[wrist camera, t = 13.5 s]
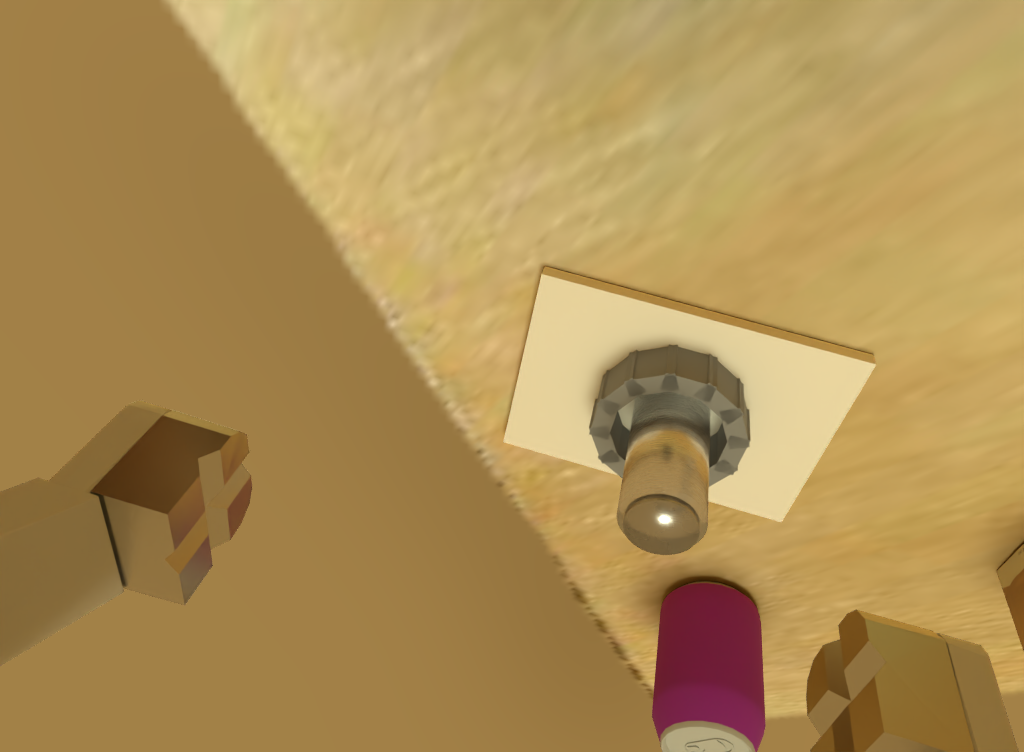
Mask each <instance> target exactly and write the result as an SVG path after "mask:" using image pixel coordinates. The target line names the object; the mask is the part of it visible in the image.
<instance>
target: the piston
mask: <svg viewBox="0 0 1024 752" xmlns="http://www.w3.org/2000/svg"><path fill="white" fill-rule="evenodd" d="M710 418H711V409H710V408H709V407H708V406H706V405H705V404H704V403H703V402H702V401H701V400H699V399H695V398H692V397H688V396H684V395H681V394H677V393H674V392H670V391H669V392H662V393H655V394H648V395H641V396H638V397H637V398H635V402H634V409H633V415H632V421H631V428H630V434H629V440H628V447H627V453H626V459H625V466H624V472H623V479H622V485H621V491H620V498H619V504H618V510H617V521H618V525H619V527H620V529H621V530H622V532H623V533H624V534H625V535H626V536H627V538H628V539H629V540H630V541H631V542H632V543H633V544H634V545H636V546H637V547H639V548H640V549H642V550H644V551H647V552H650V553H654V554H660V555H672V554H678V553H681V552H684V551H686V550H688V549H690V548H691V547H692V546H693V545H695V544H696V543H698V542H699V541H700V540H701V539H702V538H703V536H704V535H705V533H706V531H707V526H708V492H709V455H710Z"/></svg>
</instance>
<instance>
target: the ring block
mask: <svg viewBox="0 0 1024 752" xmlns="http://www.w3.org/2000/svg"><path fill="white" fill-rule="evenodd" d="M875 366H876V361H875V358H874V355H873V354H869V353H865V352H861V351H858V350H854V349H850V348H847V347H843V346H839V345H835V344H832V343H828V342H824V341H821V340H817V339H813V338H810V337H806V336H802V335H798V334H795V333H791V332H787V331H784V330H780V329H776V328H772V327H769V326H765V325H761V324H758V323H754V322H750V321H746V320H743V319H739V318H735V317H732V316H728V315H724V314H721V313H717V312H713V311H709V310H706V309H702V308H698V307H695V306H691V305H687V304H683V303H680V302H676V301H672V300H669V299H665V298H661V297H658V296H654V295H650V294H646V293H643V292H639V291H635V290H632V289H628V288H624V287H620V286H617V285H613V284H609V283H606V282H602V281H598V280H594V279H591V278H587V277H583V276H580V275H576V274H572V273H569V272H565V271H561V270H557V269H554V268H550V267H546V266H545V267H544V269H543V272H542V275H541V279H540V283H539V288H538V292H537V296H536V301H535V305H534V310H533V314H532V318H531V323H530V327H529V332H528V336H527V340H526V345H525V349H524V353H523V358H522V362H521V367H520V371H519V375H518V380H517V384H516V389H515V393H514V397H513V402H512V406H511V410H510V415H509V419H508V424H507V428H506V432H505V437H504V441H503V442H505V443H508V444H512V445H515V446H519V447H522V448H526V449H529V450H532V451H536V452H539V453H543V454H546V455H550V456H553V457H557V458H560V459H564V460H567V461H571V462H574V463H578V464H581V465H584V466H588V467H591V468H595V469H598V470H602V471H605V472H609V473H612V474H616V475H619V476H620V477H621V478H623V472H624V466H625V459H626V453H627V447H628V440H629V434H630V428H631V421H632V415H633V409H634V402H635V398H637V397H638V396H641V395H648V394H655V393H662V392H669V391H670V392H674V393H677V394H681V395H684V396H688V397H692V398H695V399H699V400H701V401H702V402H703V403H704V404H705V405H706V406H708V407H709V408H710V409H711V418H710V455H709V492H708V501H709V502H713V503H716V504H720V505H723V506H727V507H730V508H734V509H737V510H741V511H744V512H747V513H751V514H754V515H758V516H761V517H765V518H768V519H772V520H775V521H779V522H782V521H783V519H784V517H785V516H786V514H787V512H788V511H789V509H790V507H791V506H792V504H793V502H794V501H795V499H796V497H797V496H798V494H799V492H800V491H801V489H802V487H803V486H804V484H805V482H806V481H807V479H808V477H809V476H810V474H811V472H812V471H813V469H814V467H815V466H816V464H817V462H818V461H819V459H820V457H821V456H822V454H823V452H824V451H825V449H826V447H827V446H828V444H829V442H830V441H831V439H832V437H833V436H834V434H835V432H836V431H837V429H838V427H839V426H840V424H841V422H842V421H843V419H844V417H845V416H846V414H847V412H848V411H849V409H850V407H851V406H852V404H853V403H854V401H855V399H856V398H857V396H858V394H859V393H860V391H861V389H862V388H863V386H864V384H865V383H866V381H867V379H868V378H869V376H870V374H871V373H872V371H873V369H874V368H875Z"/></svg>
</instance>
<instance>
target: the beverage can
mask: <svg viewBox="0 0 1024 752" xmlns="http://www.w3.org/2000/svg"><path fill="white" fill-rule="evenodd" d="M652 718H653V721H654V724H655V727H656V731H657V734H658V737H659V741H660V745H661V749H662V751H663V752H757V750H758V747H759V745H760V742H761V740H762V737H763V734H764V730H765V706H764V682H763V659H762V635H761V621H760V616H759V613H758V610H757V607H756V606H755V604H754V603H753V602H752V601H751V600H750V599H749V598H748V597H747V596H745V595H744V594H742V593H741V592H739V591H737V590H736V589H734V588H732V587H731V586H728V585H725V584H722V583H718V582H710V581H700V582H692V583H689V584H686V585H683V586H682V587H679V588H677V589H675V590H674V591H672V592H671V593H669V594H668V595H667V596H666V598H665V600H664V601H663V603H662V607H661V612H660V624H659V637H658V649H657V661H656V673H655V685H654V697H653V710H652Z"/></svg>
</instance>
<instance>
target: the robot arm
mask: <svg viewBox="0 0 1024 752" xmlns="http://www.w3.org/2000/svg"><path fill="white" fill-rule="evenodd" d="M248 453H249V447H248V439H247V434H245V433H242V432H240V431H237V430H234V429H231V428H228V427H224V426H222V425H219V424H215V423H212V422H209V421H206V420H203V419H200V418H196V417H193V416H190V415H187V414H184V413H181V412H178V411H174V410H170V409H167V408H164V407H161V406H158V405H154V404H151V403H148V402H145V401H141V400H138V401H136V402H134V403H131V404H128V405H127V406H125V407H124V408H123V409H122V410H121V411H120V412H119V413H118V414H117V415H116V416H115V417H114V418H113V419H112V420H111V421H110V422H109V423H108V424H107V425H106V426H105V427H104V428H103V429H102V430H101V431H99V433H97V434H96V435H95V436H94V437H93V438H92V439H91V440H90V441H89V442H88V443H87V444H86V445H85V446H84V447H83V448H82V449H81V450H80V451H79V452H78V453H77V454H76V455H75V456H74V457H73V458H72V459H71V460H70V461H69V462H68V463H67V464H65V466H63V467H62V468H61V469H60V470H59V471H58V472H57V473H56V474H55V475H54V476H53V477H52V478H51V479H50V480H49V481H48V480H45V479H41V478H36V479H33V480H31V481H28V482H25V483H22V484H20V485H17V486H14V487H12V488H9V489H6V490H4V491H1V492H0V666H1V665H3V664H5V663H6V662H8V661H10V660H11V659H13V658H15V657H16V656H18V655H20V654H21V653H23V652H24V651H26V650H28V649H30V648H31V647H33V646H35V645H36V644H38V643H39V642H41V641H43V640H45V639H46V638H48V637H50V636H51V635H53V634H55V633H56V632H58V631H60V630H61V629H63V628H65V627H66V626H68V625H70V624H71V623H73V622H75V621H76V620H78V619H80V618H81V617H83V616H85V615H86V614H88V613H90V612H91V611H93V610H95V609H97V608H98V607H100V606H102V605H103V604H105V603H107V602H108V601H110V600H112V599H113V598H115V597H116V596H118V595H120V594H122V593H123V592H124V589H123V588H125V589H129V590H132V591H135V592H139V593H143V594H146V595H150V596H153V597H157V598H160V599H164V600H167V601H171V602H174V603H178V604H181V605H185V604H186V603H187V602H188V600H189V599H190V597H191V596H192V594H193V593H194V592H195V590H196V589H197V587H198V586H199V584H200V583H201V581H202V580H203V578H204V577H205V576H206V574H207V573H208V572H209V570H210V569H211V567H212V566H213V565H212V557H211V549H213V548H215V547H217V546H219V545H221V544H223V543H225V542H227V541H229V540H231V538H232V537H233V535H234V534H235V532H236V531H237V529H238V527H239V526H240V524H241V523H242V520H243V518H244V516H245V513H246V511H247V508H248V506H249V503H250V497H251V490H252V482H251V475H250V473H249V472H248V471H247V469H246V468H245V467H244V466H243V464H242V461H243V460H244V459H245V457H246V456H247V455H248ZM838 626H839V634H840V640H837V641H834V642H831V643H828V644H825V645H823V646H822V648H821V649H820V651H819V652H818V654H817V655H816V657H815V658H814V660H813V663H812V666H811V670H810V673H809V676H808V680H807V693H806V701H807V716H808V717H809V719H810V720H811V722H812V723H813V725H814V726H815V728H816V729H817V731H818V732H819V734H820V735H821V737H820V739H819V740H818V741H817V742H816V744H815V745H814V746H813V747H812V749H811V750H810V752H1019V751H1018V748H1017V745H1016V741H1015V738H1014V735H1013V732H1012V729H1011V725H1010V722H1009V719H1008V716H1007V712H1006V709H1005V706H1004V703H1003V700H1002V696H1001V693H1000V690H999V687H998V684H997V680H996V677H995V674H994V671H993V668H992V664H991V661H990V658H989V655H988V653H987V652H986V651H985V650H984V648H983V647H982V646H981V645H978V644H975V643H971V642H968V641H964V640H961V639H957V638H954V637H950V636H947V635H943V634H940V633H935V632H933V631H931V630H928V629H924V628H920V627H917V626H913V625H910V624H906V623H903V622H899V621H895V620H892V619H888V618H885V617H881V616H877V615H874V614H870V613H867V612H863V611H859V610H854V611H852V612H850V613H848V614H847V615H846V616H845V617H844V619H843V620H842V621H841V623H840V624H839V625H838Z"/></svg>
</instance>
